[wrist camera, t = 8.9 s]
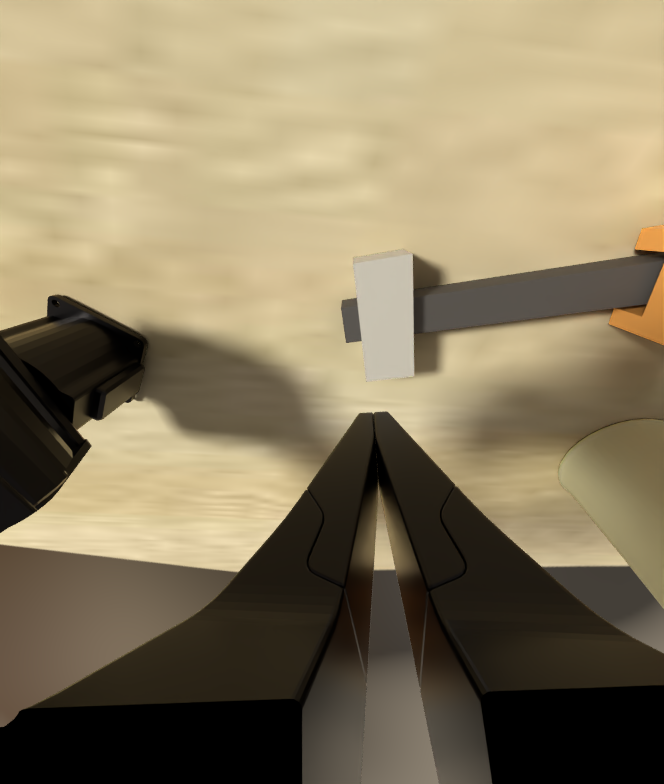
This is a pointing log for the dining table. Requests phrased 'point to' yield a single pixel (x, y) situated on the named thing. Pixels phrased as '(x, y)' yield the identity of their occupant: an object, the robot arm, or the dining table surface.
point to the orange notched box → (660, 315)
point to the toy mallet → (476, 302)
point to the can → (624, 492)
